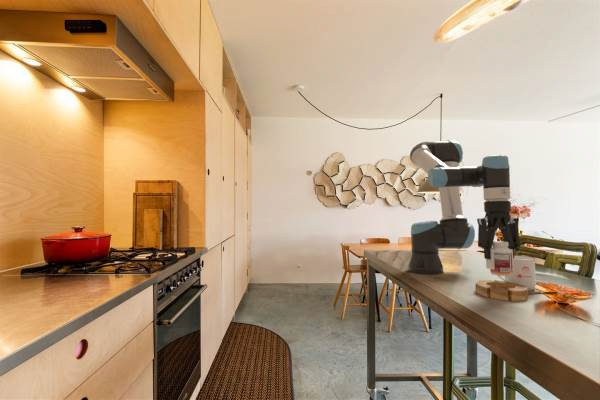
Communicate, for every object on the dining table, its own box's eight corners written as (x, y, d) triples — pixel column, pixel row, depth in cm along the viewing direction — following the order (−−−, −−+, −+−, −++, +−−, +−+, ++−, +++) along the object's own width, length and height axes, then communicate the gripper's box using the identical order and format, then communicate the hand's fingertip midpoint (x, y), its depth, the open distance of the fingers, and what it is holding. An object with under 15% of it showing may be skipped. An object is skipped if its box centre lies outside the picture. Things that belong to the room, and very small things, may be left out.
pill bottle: (497, 271, 99) (495, 240, 100) (516, 275, 94) (515, 242, 94) (486, 273, 96) (485, 241, 97) (505, 277, 91) (504, 243, 91)
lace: (522, 293, 95) (522, 292, 95) (554, 292, 97) (554, 290, 97) (524, 294, 95) (524, 292, 95) (557, 292, 96) (556, 291, 96)
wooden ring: (467, 289, 101) (466, 280, 102) (502, 287, 103) (502, 279, 103) (498, 301, 87) (498, 291, 88) (539, 299, 89) (538, 290, 89)
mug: (526, 285, 106) (525, 255, 106) (542, 292, 97) (540, 259, 97) (491, 284, 108) (489, 255, 108) (503, 290, 99) (502, 259, 99)
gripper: (479, 200, 92) (482, 271, 91) (532, 199, 94) (535, 269, 93) (463, 201, 99) (465, 267, 98) (513, 200, 101) (516, 265, 100)
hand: (499, 268), depth 96 cm, fingers closed on pill bottle, 6 cm apart
